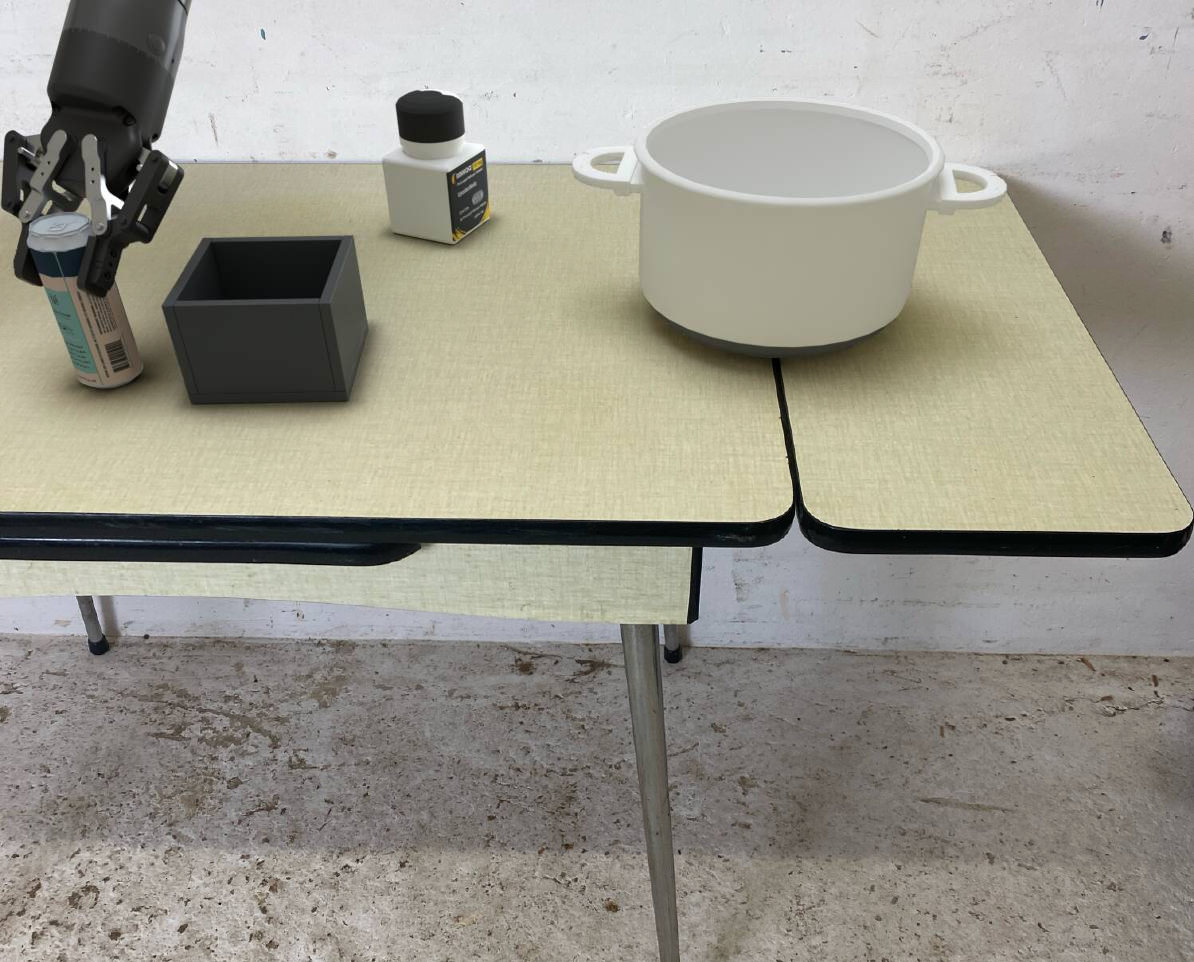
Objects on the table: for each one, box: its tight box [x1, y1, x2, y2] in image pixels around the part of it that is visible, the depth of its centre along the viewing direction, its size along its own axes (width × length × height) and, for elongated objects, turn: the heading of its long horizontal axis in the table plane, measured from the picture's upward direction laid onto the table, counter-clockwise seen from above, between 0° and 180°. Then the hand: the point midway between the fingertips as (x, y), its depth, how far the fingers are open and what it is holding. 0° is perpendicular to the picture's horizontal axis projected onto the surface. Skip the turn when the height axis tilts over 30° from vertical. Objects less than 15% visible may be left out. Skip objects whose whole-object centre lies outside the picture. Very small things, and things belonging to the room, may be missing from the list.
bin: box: [161, 234, 369, 405], centre depth 79 cm, size 12×12×8 cm
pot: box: [571, 96, 1008, 359], centre depth 84 cm, size 33×23×14 cm
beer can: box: [27, 211, 144, 389], centre depth 76 cm, size 5×5×12 cm
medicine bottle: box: [381, 88, 491, 245], centre depth 98 cm, size 7×7×12 cm
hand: (59, 286), depth 74 cm, fingers closed on beer can, 4 cm apart
